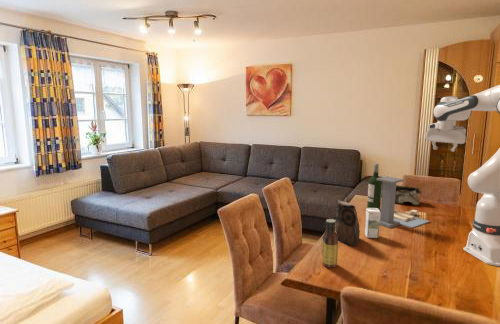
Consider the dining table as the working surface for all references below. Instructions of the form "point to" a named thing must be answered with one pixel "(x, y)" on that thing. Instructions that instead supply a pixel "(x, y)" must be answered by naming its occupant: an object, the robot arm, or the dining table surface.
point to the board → (405, 215)
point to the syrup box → (372, 222)
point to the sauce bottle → (330, 245)
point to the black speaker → (347, 223)
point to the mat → (412, 222)
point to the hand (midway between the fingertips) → (443, 150)
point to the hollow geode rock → (406, 194)
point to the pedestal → (388, 201)
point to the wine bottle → (374, 190)
